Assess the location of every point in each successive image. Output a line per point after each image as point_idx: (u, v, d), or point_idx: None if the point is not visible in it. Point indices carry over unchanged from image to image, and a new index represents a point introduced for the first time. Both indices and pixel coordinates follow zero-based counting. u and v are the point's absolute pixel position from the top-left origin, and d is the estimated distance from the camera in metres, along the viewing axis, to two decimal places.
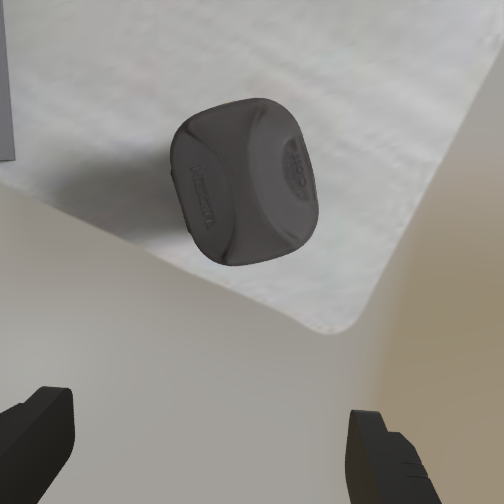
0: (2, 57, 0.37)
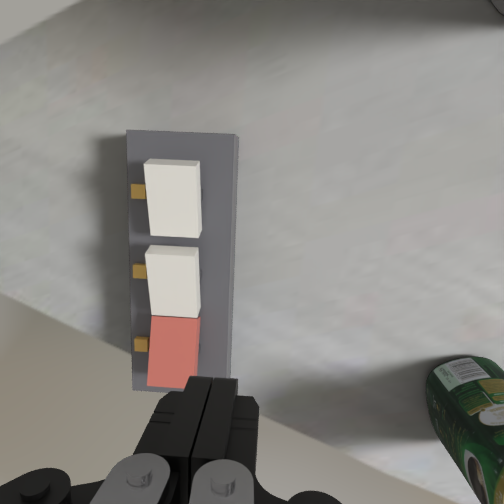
0: (232, 293, 0.39)
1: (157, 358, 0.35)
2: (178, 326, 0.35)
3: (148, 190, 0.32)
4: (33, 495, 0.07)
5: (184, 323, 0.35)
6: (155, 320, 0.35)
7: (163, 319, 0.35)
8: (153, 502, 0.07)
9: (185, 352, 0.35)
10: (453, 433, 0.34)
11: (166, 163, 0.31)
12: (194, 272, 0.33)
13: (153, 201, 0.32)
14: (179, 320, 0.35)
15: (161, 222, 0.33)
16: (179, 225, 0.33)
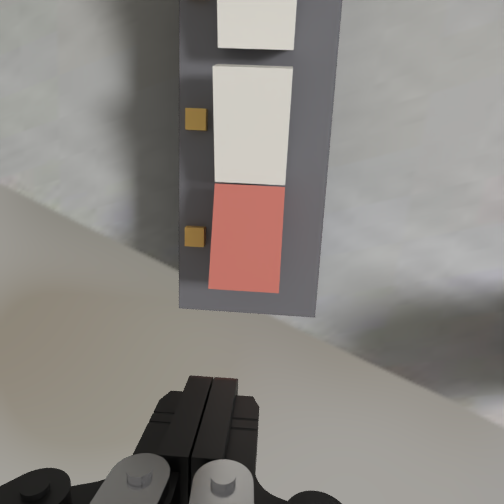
0: None
1: (224, 246, 0.23)
2: (256, 198, 0.23)
3: None
4: (33, 495, 0.07)
5: (265, 194, 0.23)
6: (220, 190, 0.23)
7: (233, 189, 0.23)
8: (153, 502, 0.07)
9: (267, 238, 0.23)
10: None
11: None
12: (289, 100, 0.21)
13: None
14: (257, 189, 0.23)
15: (236, 21, 0.21)
16: (264, 27, 0.21)
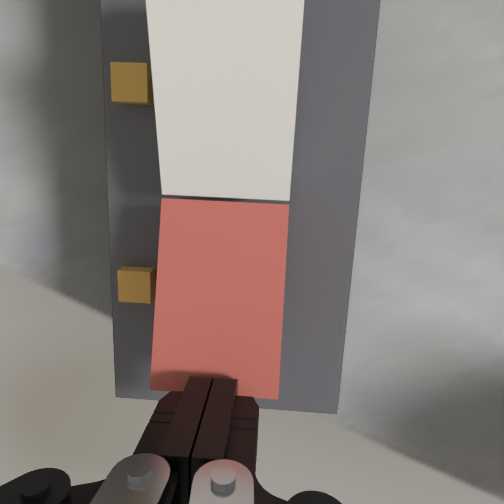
0: None
1: (179, 313, 0.13)
2: (236, 226, 0.13)
3: None
4: (33, 495, 0.07)
5: (253, 217, 0.13)
6: (172, 210, 0.13)
7: (195, 208, 0.13)
8: (153, 502, 0.07)
9: (256, 297, 0.12)
10: None
11: None
12: (298, 35, 0.10)
13: None
14: (239, 209, 0.13)
15: None
16: None
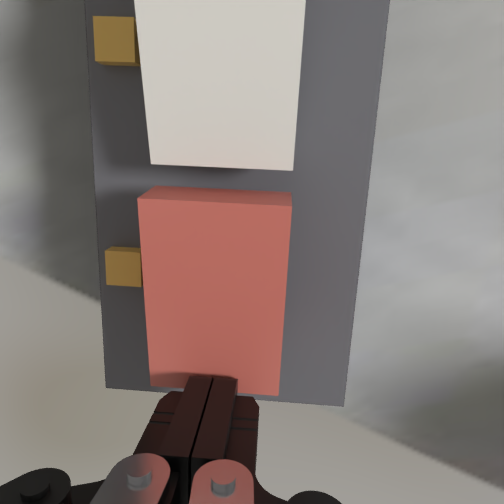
0: None
1: (172, 320, 0.12)
2: (229, 231, 0.11)
3: None
4: (33, 495, 0.07)
5: (248, 221, 0.10)
6: (152, 212, 0.11)
7: (178, 211, 0.10)
8: (153, 502, 0.07)
9: (254, 306, 0.11)
10: None
11: None
12: None
13: None
14: (231, 212, 0.10)
15: None
16: None
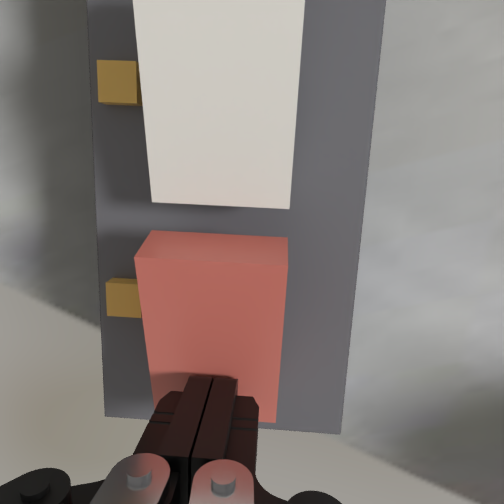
0: None
1: (173, 361, 0.12)
2: (226, 286, 0.11)
3: None
4: (33, 495, 0.07)
5: (245, 278, 0.11)
6: (149, 269, 0.11)
7: (175, 268, 0.11)
8: (153, 502, 0.07)
9: (252, 350, 0.12)
10: None
11: None
12: (299, 29, 0.09)
13: None
14: (228, 270, 0.10)
15: None
16: None
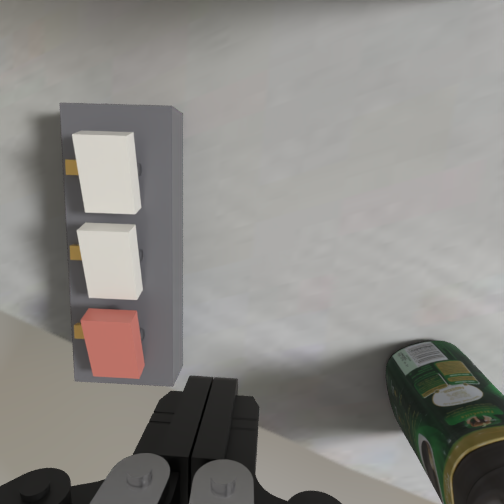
0: (181, 277, 0.38)
1: (97, 355, 0.33)
2: (112, 329, 0.32)
3: (79, 163, 0.30)
4: (33, 495, 0.07)
5: (117, 326, 0.32)
6: (85, 324, 0.32)
7: (94, 323, 0.32)
8: (153, 502, 0.07)
9: (124, 350, 0.33)
10: (408, 418, 0.32)
11: (96, 133, 0.30)
12: (130, 249, 0.31)
13: (85, 175, 0.30)
14: (111, 324, 0.32)
15: (95, 198, 0.31)
16: (114, 201, 0.31)
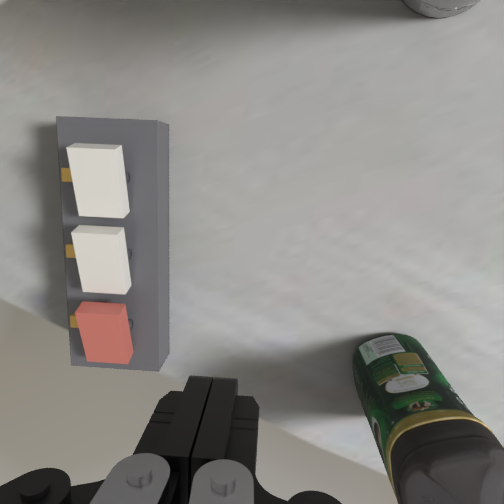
0: (167, 273, 0.42)
1: (90, 342, 0.37)
2: (102, 320, 0.36)
3: (73, 172, 0.34)
4: (33, 495, 0.07)
5: (107, 318, 0.36)
6: (79, 315, 0.36)
7: (87, 315, 0.36)
8: (153, 502, 0.07)
9: (114, 339, 0.37)
10: (366, 403, 0.36)
11: (88, 146, 0.33)
12: (118, 250, 0.35)
13: (78, 183, 0.34)
14: (102, 316, 0.36)
15: (87, 203, 0.35)
16: (104, 206, 0.35)
